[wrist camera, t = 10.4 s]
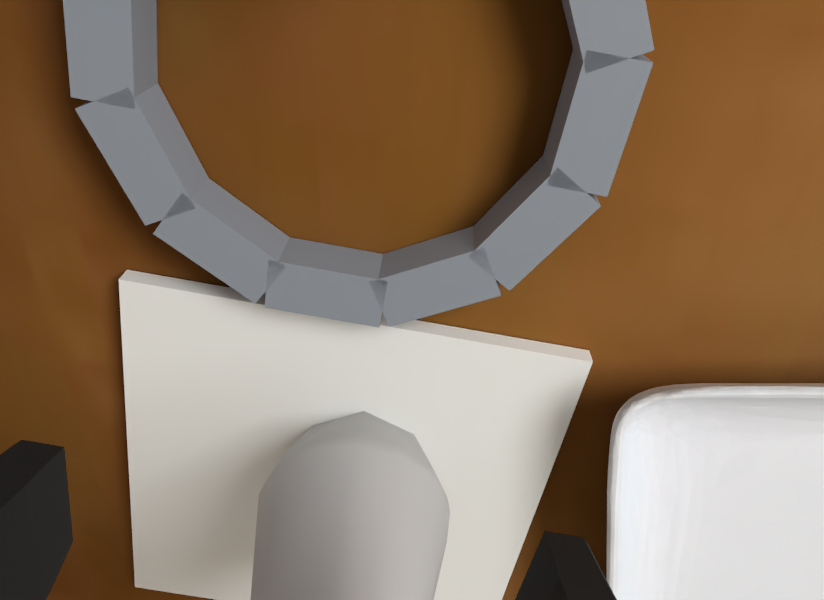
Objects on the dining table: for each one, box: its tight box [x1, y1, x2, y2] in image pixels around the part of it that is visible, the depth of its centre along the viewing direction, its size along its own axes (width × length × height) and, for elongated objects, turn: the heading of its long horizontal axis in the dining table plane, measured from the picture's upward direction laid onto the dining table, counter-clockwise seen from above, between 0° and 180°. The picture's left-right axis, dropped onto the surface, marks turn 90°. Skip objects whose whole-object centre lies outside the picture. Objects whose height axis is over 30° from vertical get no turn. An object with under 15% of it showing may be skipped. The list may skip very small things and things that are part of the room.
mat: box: [119, 270, 593, 600], centre depth 24 cm, size 14×14×1 cm
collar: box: [63, 0, 654, 327], centre depth 16 cm, size 13×13×2 cm
